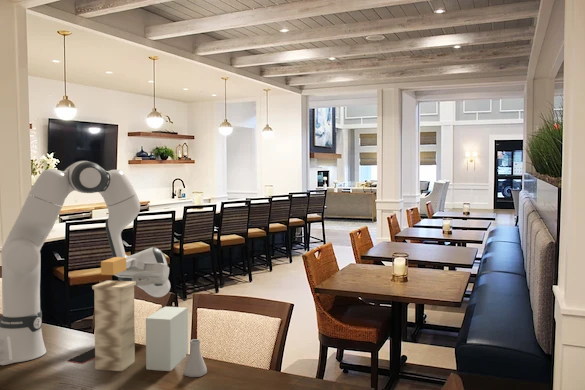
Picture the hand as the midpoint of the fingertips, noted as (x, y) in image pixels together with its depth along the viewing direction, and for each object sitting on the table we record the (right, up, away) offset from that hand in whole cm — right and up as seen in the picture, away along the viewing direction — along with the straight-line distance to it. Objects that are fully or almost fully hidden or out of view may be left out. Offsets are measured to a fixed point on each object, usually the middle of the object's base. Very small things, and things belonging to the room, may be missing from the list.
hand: (128, 261), depth 167 cm
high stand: (-2, -32, -8) cm, 33 cm away
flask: (+25, -32, -13) cm, 43 cm away
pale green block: (+14, -32, -5) cm, 35 cm away
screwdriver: (-1, -2, -5) cm, 5 cm away
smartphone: (-13, -32, +1) cm, 35 cm away
